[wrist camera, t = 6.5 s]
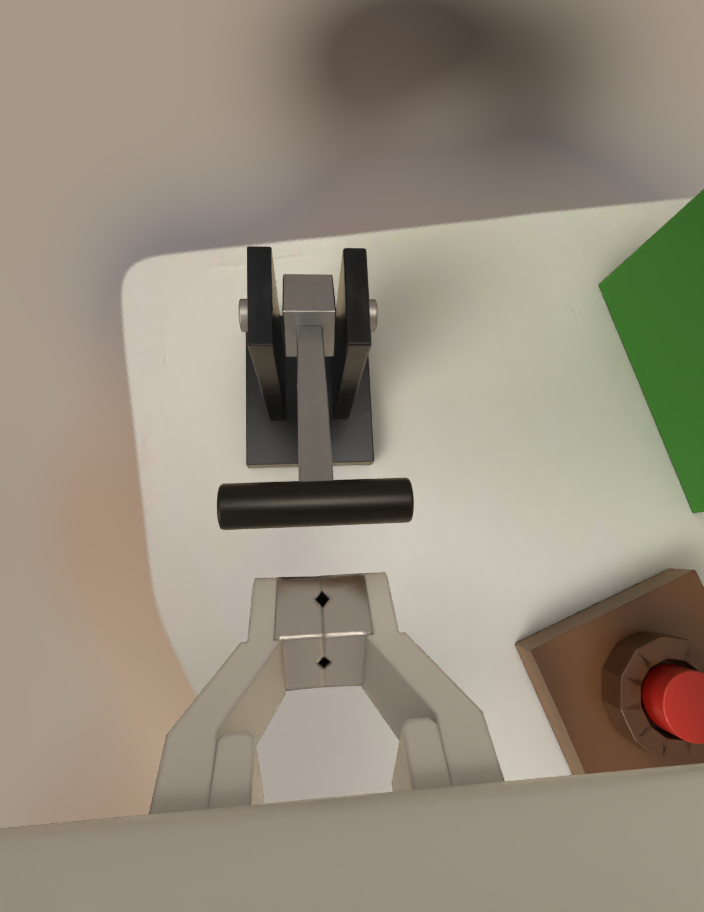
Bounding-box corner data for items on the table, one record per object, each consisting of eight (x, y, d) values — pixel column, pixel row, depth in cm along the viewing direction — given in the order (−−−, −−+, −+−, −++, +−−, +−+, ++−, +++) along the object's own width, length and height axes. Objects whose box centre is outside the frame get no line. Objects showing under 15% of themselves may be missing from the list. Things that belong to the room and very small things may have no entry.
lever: (407, 537, 16) (419, 497, 14) (224, 545, 16) (211, 505, 14) (369, 319, 24) (374, 274, 22) (245, 319, 23) (239, 273, 21)
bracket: (371, 464, 32) (412, 410, 19) (248, 468, 31) (208, 414, 18) (364, 323, 34) (397, 190, 21) (247, 323, 33) (210, 185, 20)
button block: (585, 803, 29) (628, 843, 25) (514, 643, 30) (544, 657, 26) (743, 715, 31) (806, 739, 27) (669, 568, 32) (719, 571, 28)
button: (660, 743, 27) (684, 756, 25) (629, 679, 27) (651, 688, 25) (712, 714, 27) (739, 725, 25) (681, 652, 28) (706, 659, 26)
